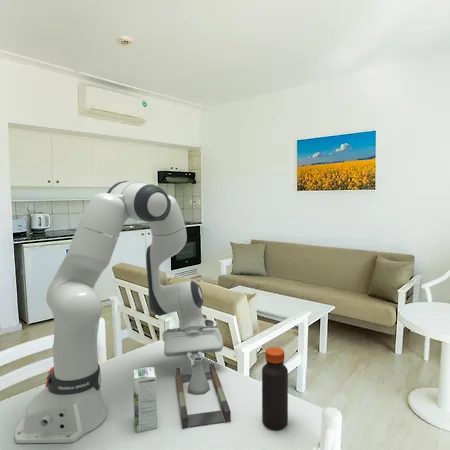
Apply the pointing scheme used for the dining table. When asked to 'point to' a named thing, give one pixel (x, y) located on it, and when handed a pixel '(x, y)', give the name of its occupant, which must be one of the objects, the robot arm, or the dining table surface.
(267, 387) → the bottle
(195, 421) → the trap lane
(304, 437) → the dining table surface
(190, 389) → the flask
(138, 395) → the syrup box
